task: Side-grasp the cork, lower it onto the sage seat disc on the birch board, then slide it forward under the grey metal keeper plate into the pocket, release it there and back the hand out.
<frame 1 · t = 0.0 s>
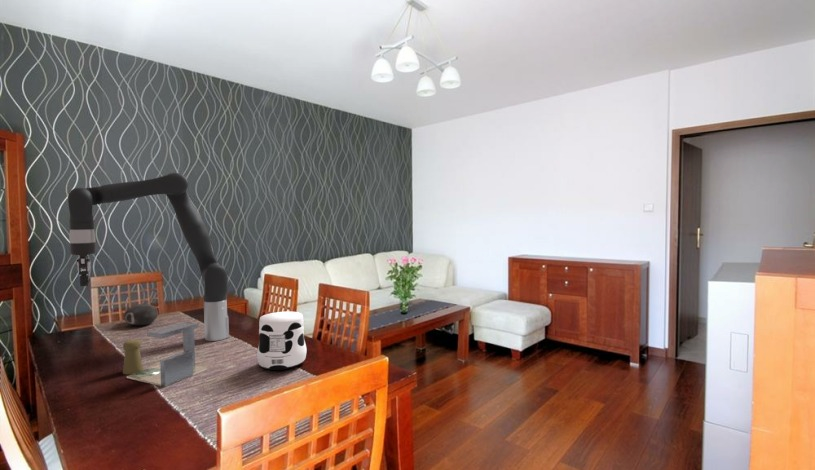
hand: (84, 284, 150), 29 cm above the table, tool pointing down, fingers open, 8 cm apart
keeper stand: (166, 378, 135), on the table
milk container: (282, 365, 146), on the table
cork: (133, 371, 141), on the table
decorative stone: (141, 324, 203), on the table
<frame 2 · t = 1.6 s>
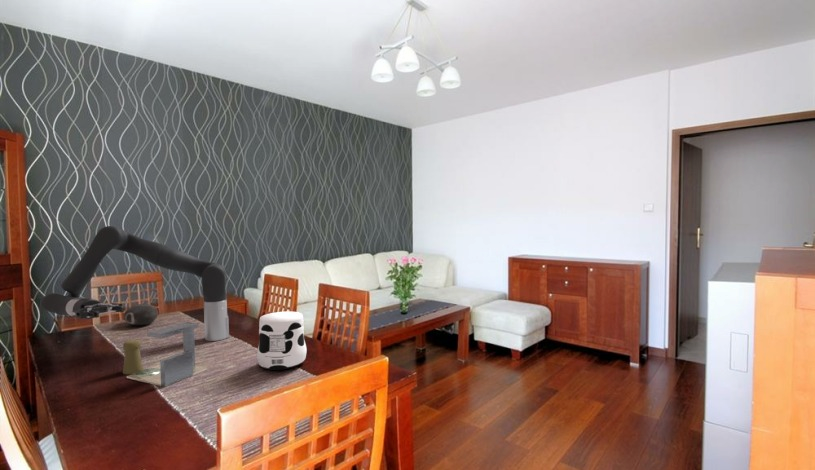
hand: (110, 312, 145), 20 cm above the table, tool horizontal, fingers open, 8 cm apart
nothing on the table moved.
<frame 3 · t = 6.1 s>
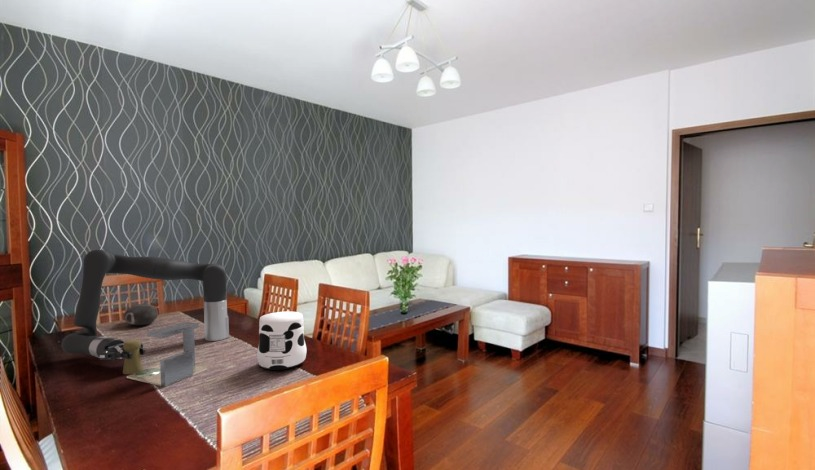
hand: (137, 353, 140), 7 cm above the table, tool horizontal, fingers closed on cork, 4 cm apart
cork: (133, 371, 141), on the table, touching gripper
everything else where it was.
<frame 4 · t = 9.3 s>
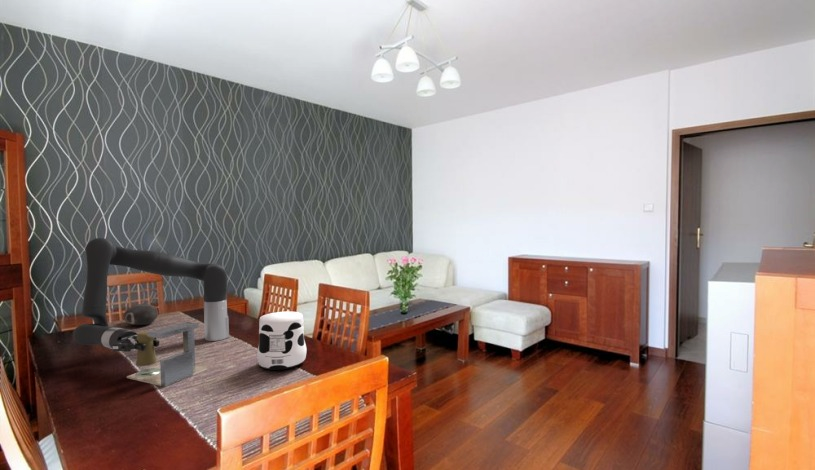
hand: (151, 345, 137), 10 cm above the table, tool horizontal, fingers closed on cork, 4 cm apart
cork: (146, 363, 138), point 4 cm above the table, touching gripper
everything else where it was.
when the fingers open (8 cm above the table, at t = 12.4 s): cork stays where it is, resting on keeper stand.
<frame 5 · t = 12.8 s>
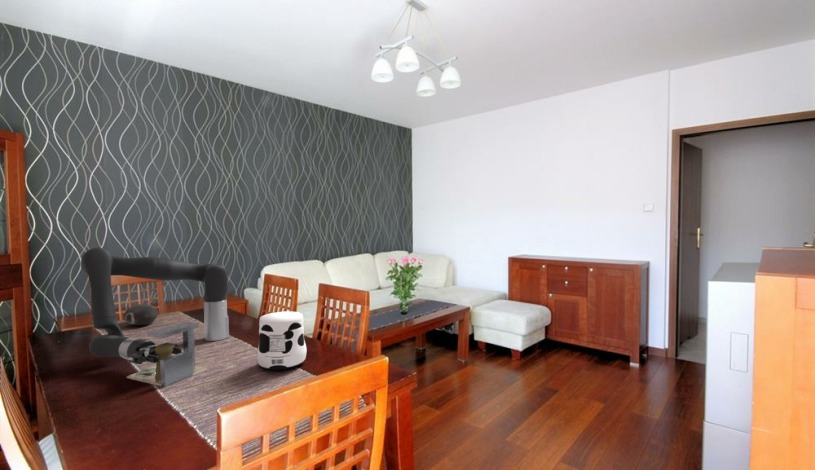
hand: (169, 355, 134), 8 cm above the table, tool horizontal, fingers open, 8 cm apart
cork: (165, 376, 135), resting on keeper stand
everything else where it was.
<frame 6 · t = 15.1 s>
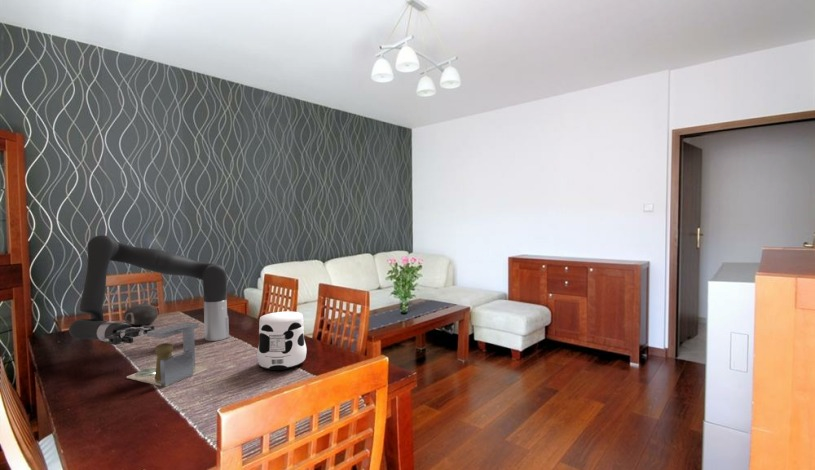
hand: (144, 336, 140), 13 cm above the table, tool horizontal, fingers open, 8 cm apart
nothing on the table moved.
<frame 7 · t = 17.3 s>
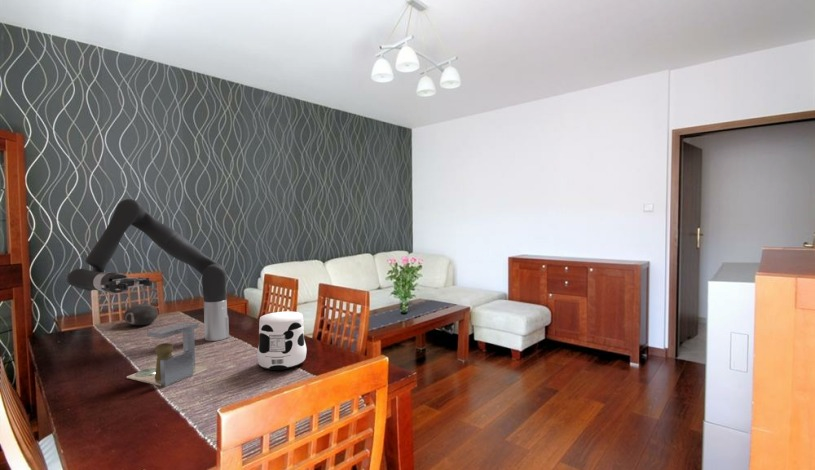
hand: (139, 284, 144), 30 cm above the table, tool horizontal, fingers open, 8 cm apart
nothing on the table moved.
at the end: cork 0.3 cm from the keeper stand (horizontally); cork tilted 0°; the gripper is holding nothing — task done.
